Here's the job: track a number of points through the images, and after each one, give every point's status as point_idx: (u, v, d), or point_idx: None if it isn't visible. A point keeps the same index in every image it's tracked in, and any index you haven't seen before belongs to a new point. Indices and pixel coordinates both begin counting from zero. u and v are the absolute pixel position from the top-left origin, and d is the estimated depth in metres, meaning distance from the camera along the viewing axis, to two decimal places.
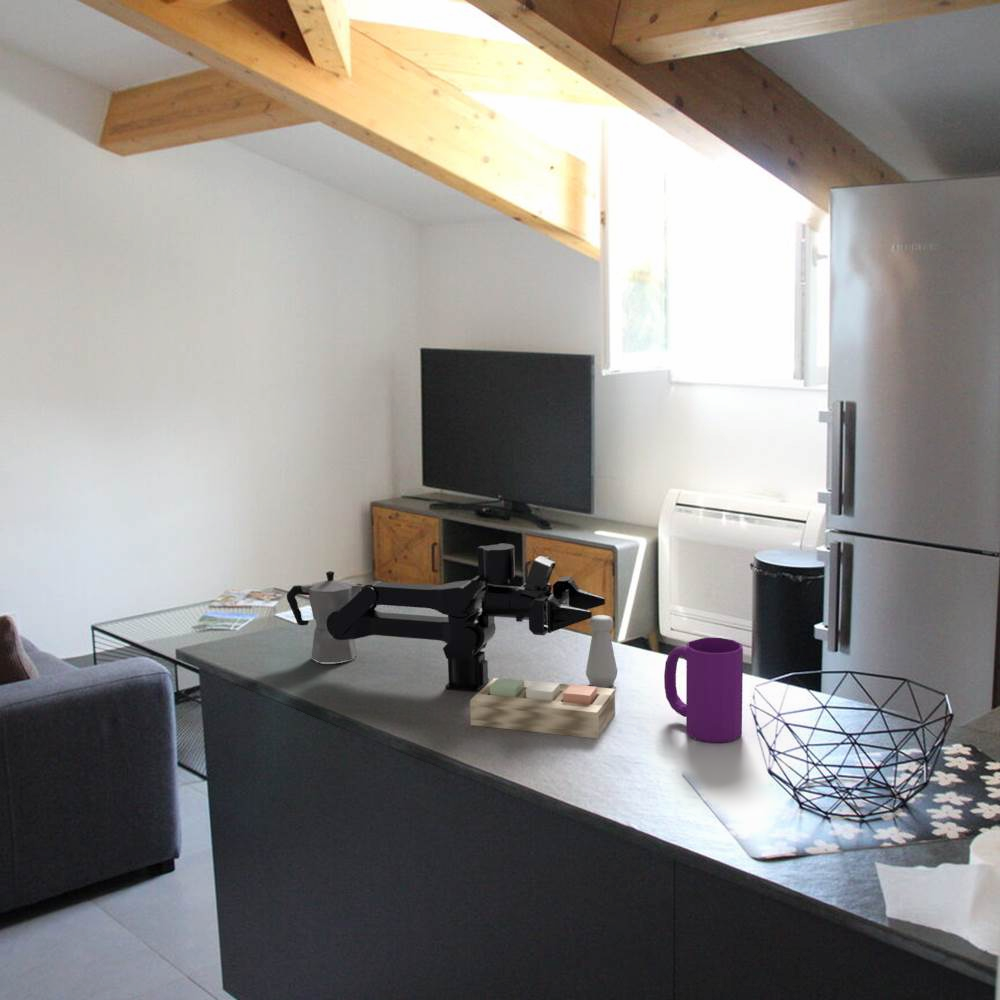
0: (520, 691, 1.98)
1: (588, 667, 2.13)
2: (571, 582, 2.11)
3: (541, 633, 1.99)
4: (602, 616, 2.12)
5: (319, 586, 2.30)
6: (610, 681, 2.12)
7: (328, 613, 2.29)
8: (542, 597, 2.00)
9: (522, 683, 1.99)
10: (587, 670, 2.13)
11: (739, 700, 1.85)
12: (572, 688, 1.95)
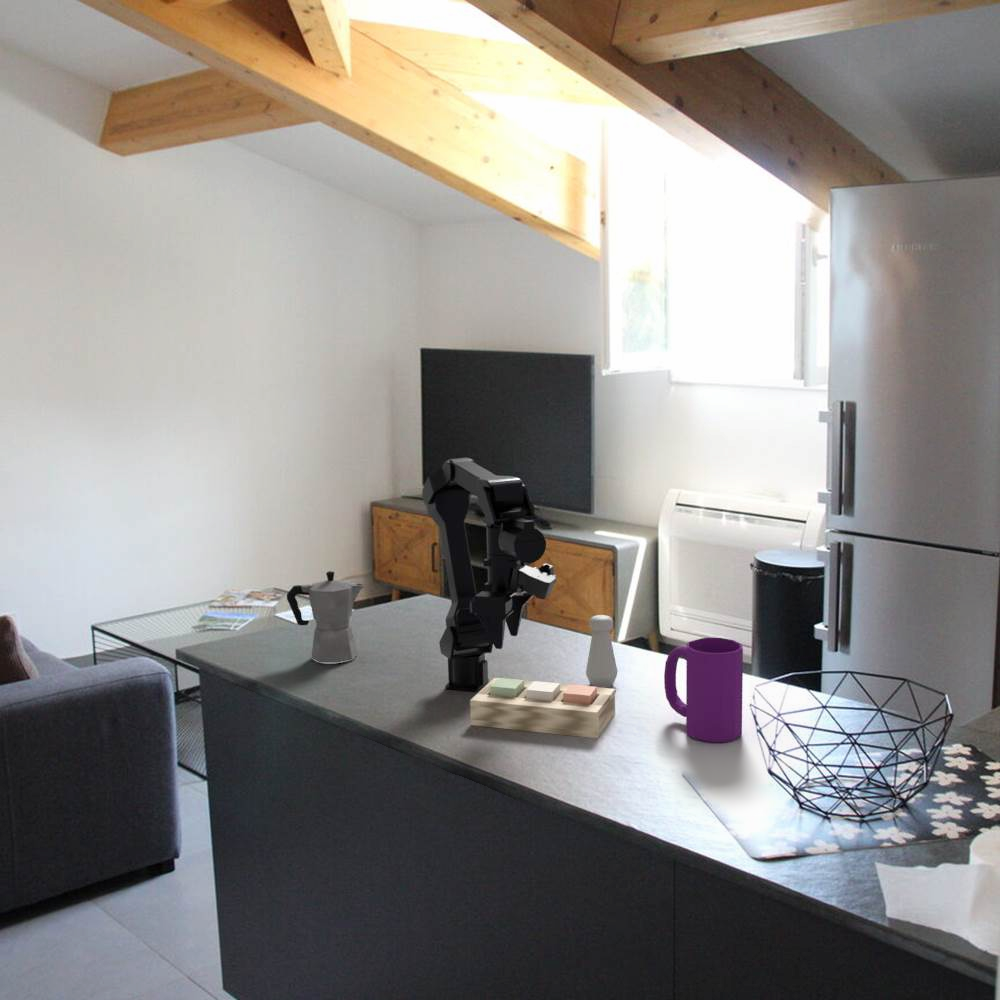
0: (520, 691, 1.98)
1: (588, 667, 2.13)
2: (530, 597, 2.00)
3: (471, 610, 1.88)
4: (602, 616, 2.12)
5: (319, 586, 2.30)
6: (610, 681, 2.12)
7: (328, 613, 2.29)
8: (509, 606, 1.89)
9: (522, 683, 1.99)
10: (587, 670, 2.13)
11: (739, 700, 1.85)
12: (572, 688, 1.95)
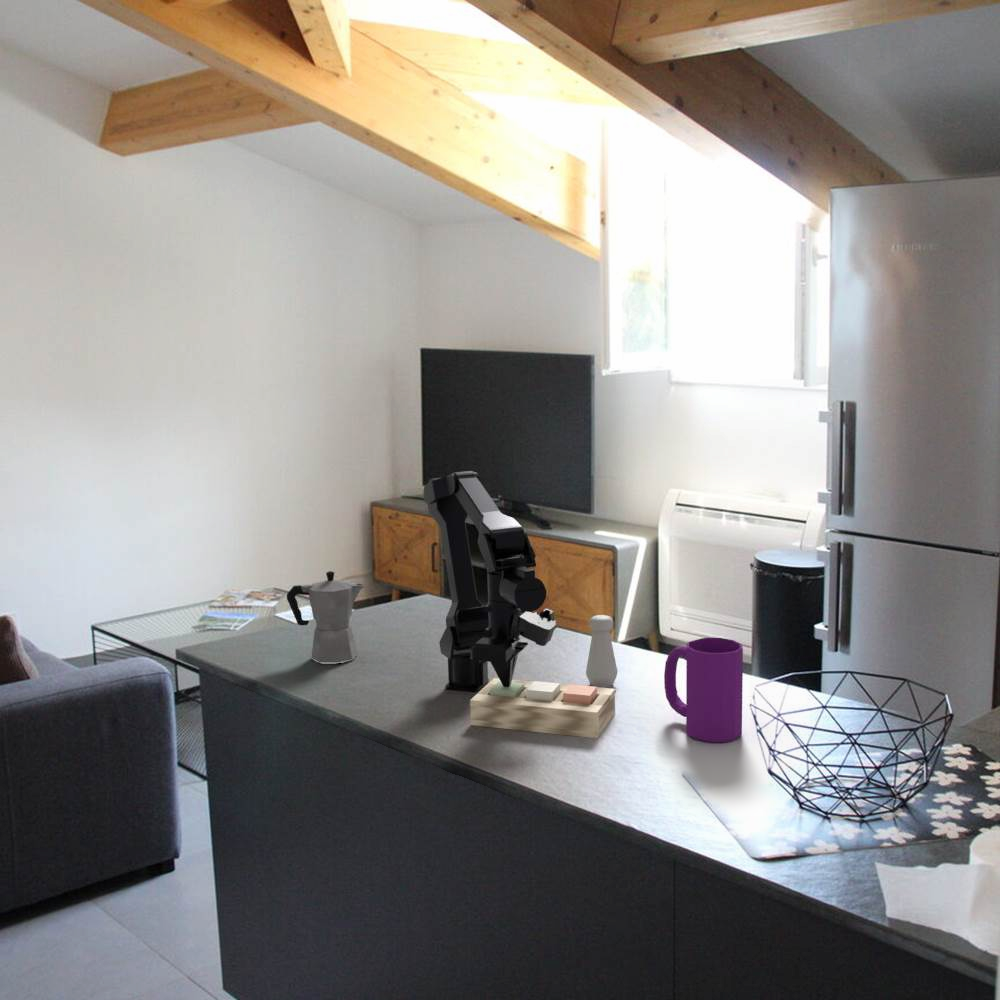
0: None
1: (588, 667, 2.13)
2: (524, 647, 1.98)
3: (472, 657, 1.90)
4: (602, 616, 2.12)
5: (319, 586, 2.30)
6: (610, 681, 2.12)
7: (328, 613, 2.29)
8: (510, 653, 1.90)
9: (522, 687, 1.99)
10: (587, 670, 2.13)
11: (739, 700, 1.85)
12: (572, 688, 1.95)
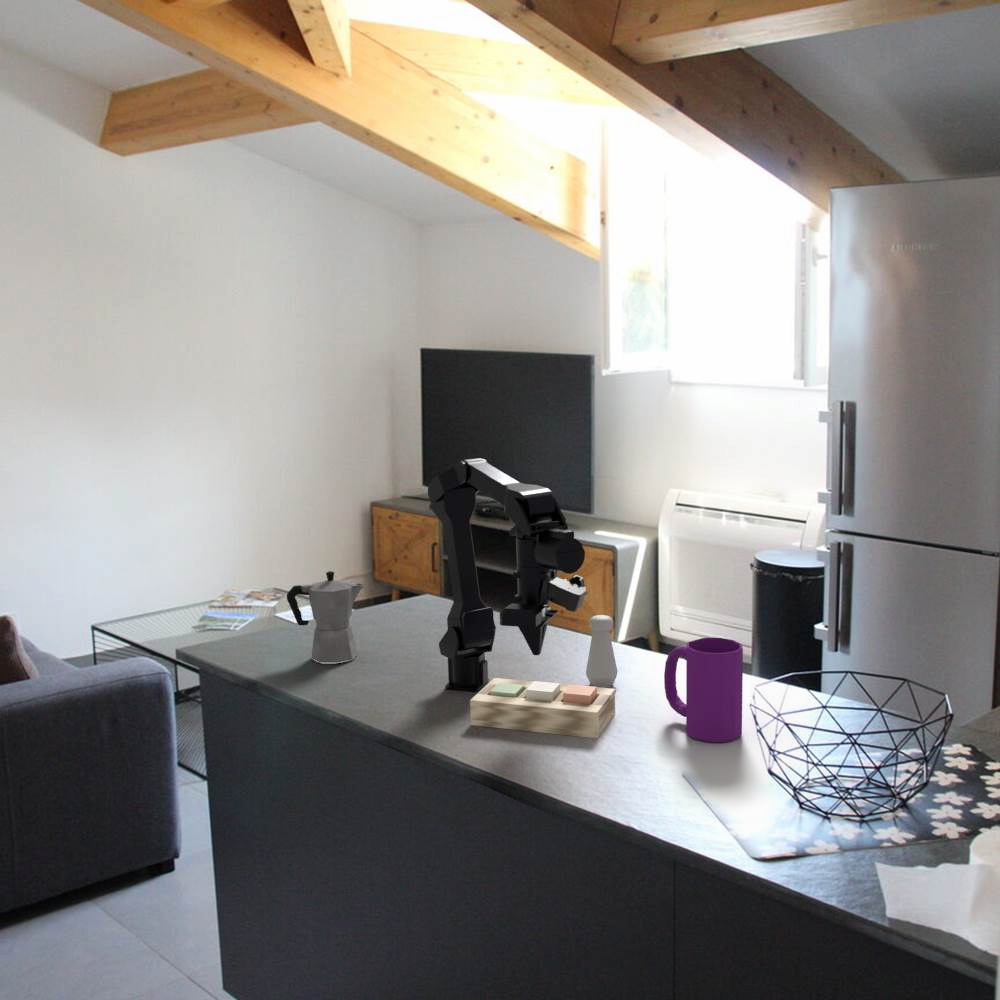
0: None
1: (588, 667, 2.13)
2: (554, 615, 1.95)
3: (501, 623, 1.86)
4: (602, 616, 2.12)
5: (319, 586, 2.30)
6: (610, 681, 2.12)
7: (328, 613, 2.29)
8: (539, 618, 1.87)
9: (522, 688, 1.99)
10: (587, 670, 2.13)
11: (739, 700, 1.85)
12: (572, 688, 1.95)
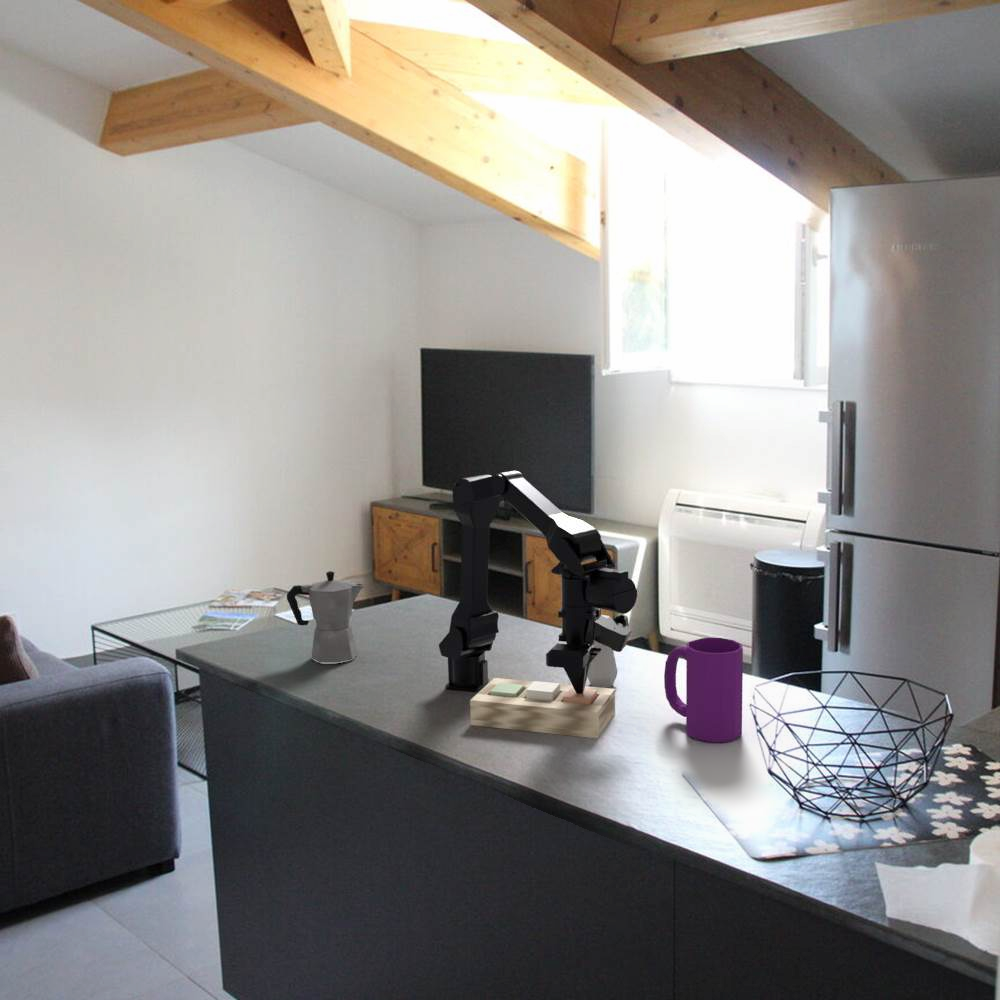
0: None
1: None
2: None
3: (548, 664, 1.85)
4: None
5: (319, 586, 2.30)
6: (610, 681, 2.12)
7: (328, 613, 2.29)
8: (586, 659, 1.85)
9: (522, 688, 1.99)
10: None
11: (739, 700, 1.85)
12: (572, 691, 1.95)
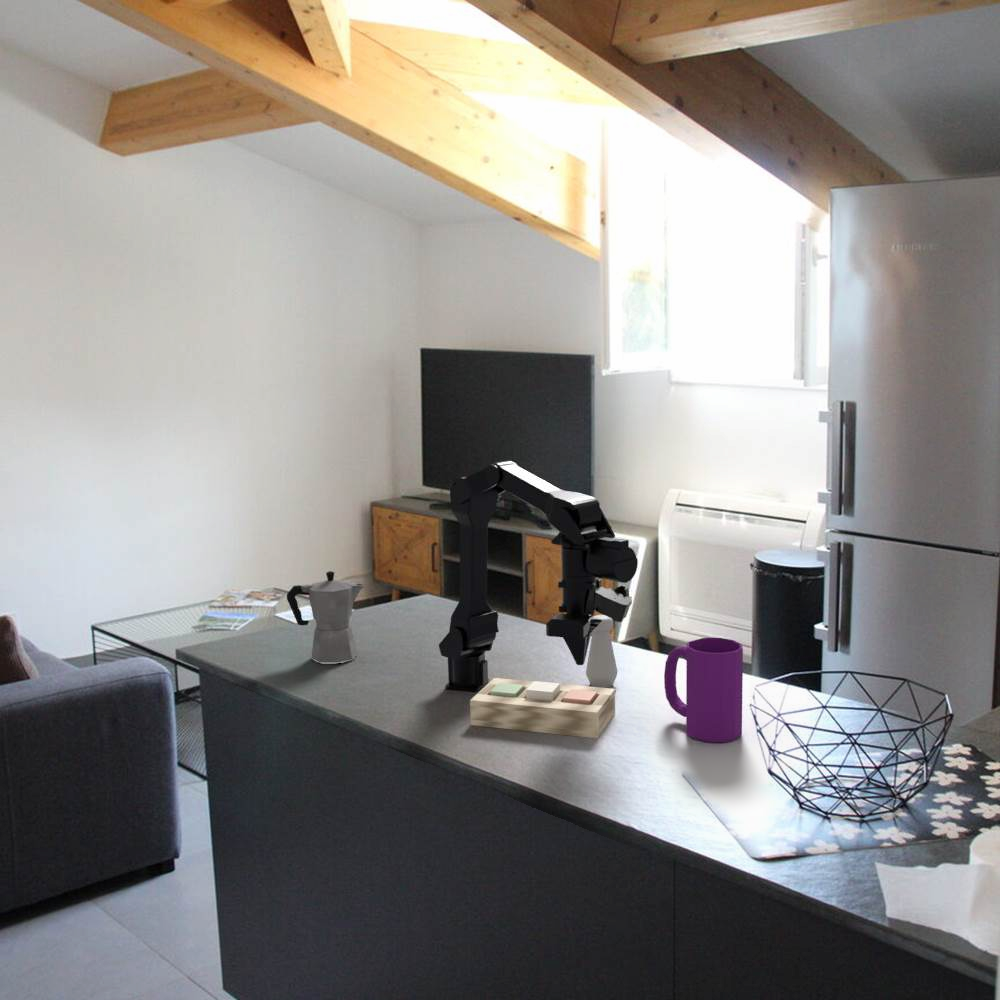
0: None
1: (588, 667, 2.13)
2: (598, 624, 1.92)
3: (548, 633, 1.84)
4: (602, 616, 2.12)
5: (319, 586, 2.30)
6: (610, 681, 2.12)
7: (328, 613, 2.29)
8: (586, 629, 1.84)
9: (522, 688, 1.99)
10: (587, 670, 2.13)
11: (739, 700, 1.85)
12: (572, 693, 1.95)
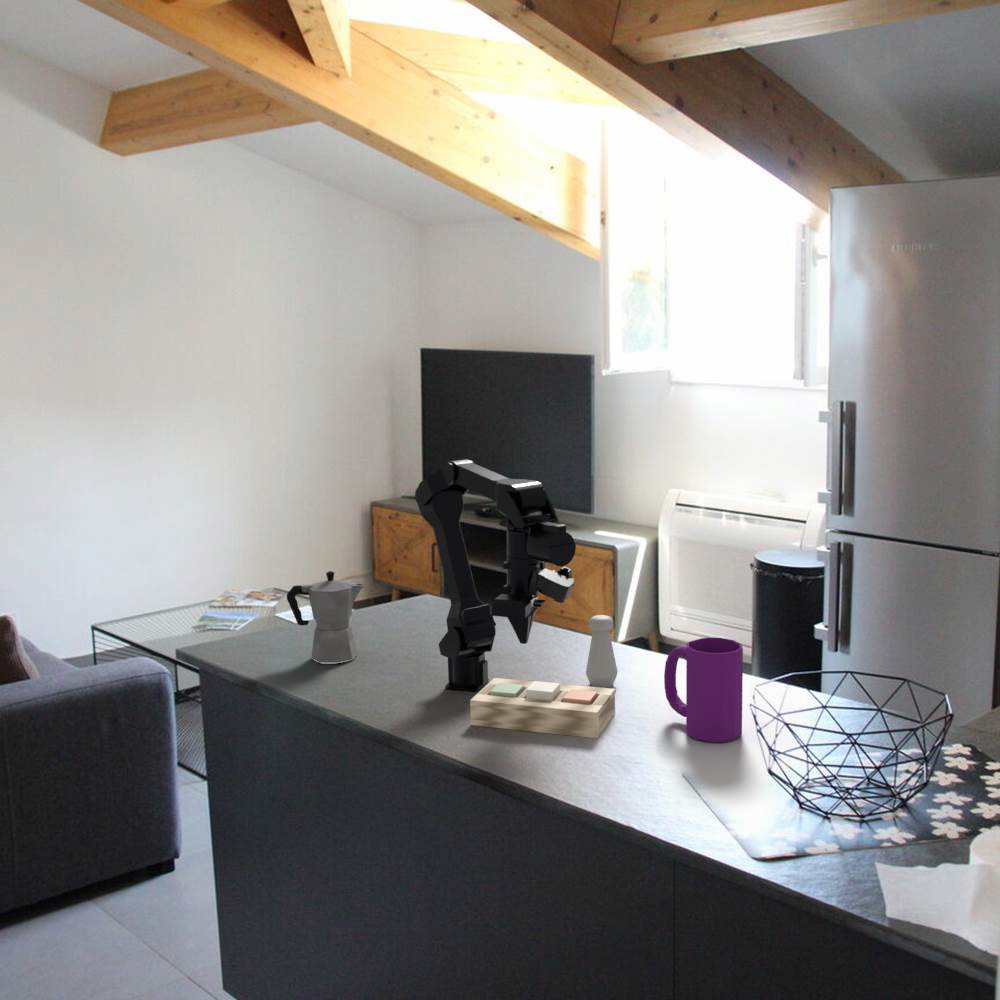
0: None
1: (588, 667, 2.13)
2: None
3: (491, 613, 1.91)
4: (602, 616, 2.12)
5: (319, 586, 2.30)
6: (610, 681, 2.12)
7: (328, 613, 2.29)
8: (529, 609, 1.91)
9: (522, 688, 1.99)
10: (587, 670, 2.13)
11: (739, 700, 1.85)
12: (572, 693, 1.95)
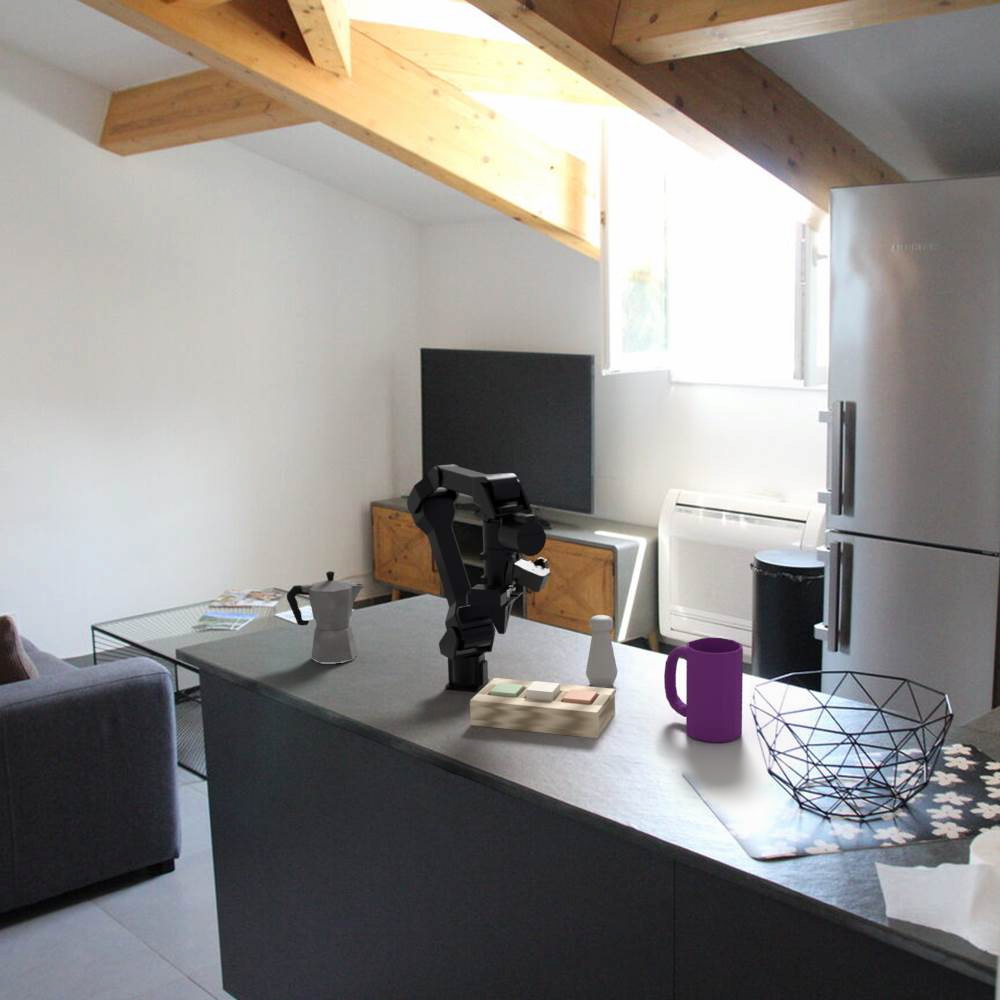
0: None
1: (588, 667, 2.13)
2: (519, 595, 2.02)
3: (467, 603, 1.94)
4: (602, 616, 2.12)
5: (319, 586, 2.30)
6: (610, 681, 2.12)
7: (328, 613, 2.29)
8: (504, 598, 1.94)
9: (522, 688, 1.99)
10: (587, 670, 2.13)
11: (739, 700, 1.85)
12: (572, 693, 1.95)
